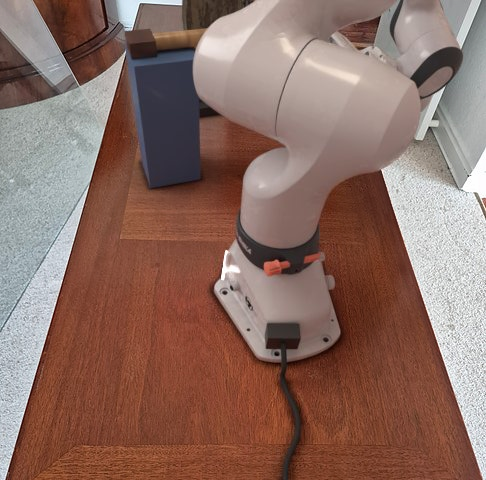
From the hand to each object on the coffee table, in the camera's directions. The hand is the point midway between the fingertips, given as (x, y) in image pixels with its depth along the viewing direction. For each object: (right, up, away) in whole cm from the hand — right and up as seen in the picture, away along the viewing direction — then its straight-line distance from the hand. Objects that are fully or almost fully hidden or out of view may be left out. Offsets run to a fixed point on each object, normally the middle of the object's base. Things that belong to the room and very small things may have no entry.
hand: (319, 43), depth 80 cm
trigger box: (-24, 0, +26) cm, 35 cm away
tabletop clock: (-21, +17, +39) cm, 47 cm away
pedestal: (-28, -19, +11) cm, 36 cm away
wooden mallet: (-23, -4, -7) cm, 24 cm away
